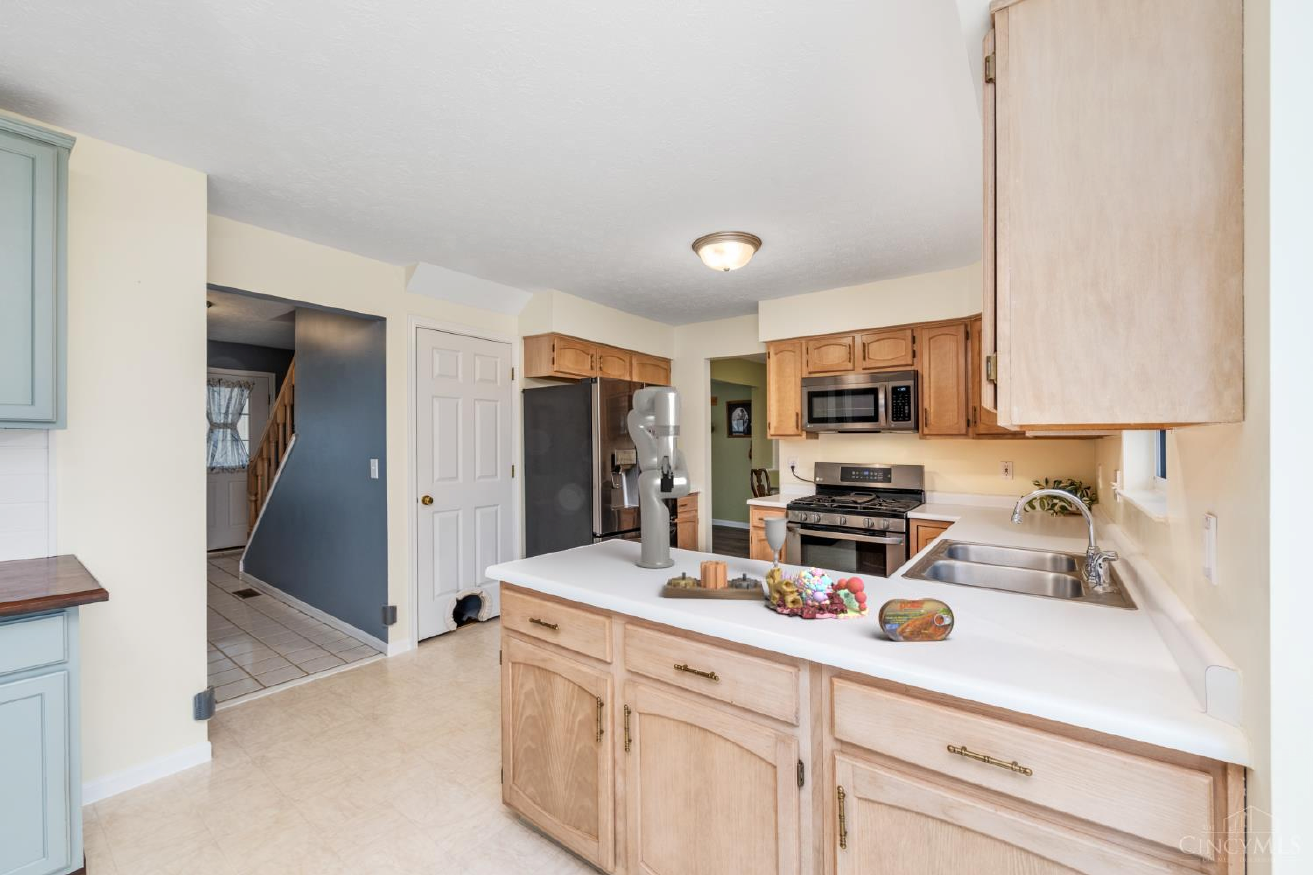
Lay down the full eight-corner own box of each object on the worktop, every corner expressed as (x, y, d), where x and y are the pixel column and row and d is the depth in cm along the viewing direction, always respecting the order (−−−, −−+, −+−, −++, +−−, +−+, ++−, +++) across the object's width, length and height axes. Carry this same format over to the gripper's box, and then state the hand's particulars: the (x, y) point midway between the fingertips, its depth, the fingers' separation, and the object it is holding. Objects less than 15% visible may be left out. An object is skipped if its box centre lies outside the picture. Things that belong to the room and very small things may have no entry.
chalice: (787, 577, 171) (786, 517, 172) (790, 582, 165) (789, 520, 165) (762, 576, 172) (761, 517, 172) (764, 582, 165) (763, 520, 165)
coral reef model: (780, 623, 130) (780, 582, 130) (752, 595, 153) (752, 561, 153) (885, 618, 132) (884, 579, 132) (842, 592, 156) (841, 558, 156)
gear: (701, 581, 159) (701, 560, 159) (727, 582, 158) (726, 560, 158) (700, 588, 152) (700, 565, 152) (727, 588, 151) (727, 566, 151)
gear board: (668, 586, 162) (668, 567, 162) (761, 588, 159) (761, 569, 159) (664, 597, 150) (664, 577, 150) (764, 600, 147) (764, 579, 147)
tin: (882, 642, 116) (882, 601, 116) (876, 637, 119) (876, 596, 119) (955, 641, 117) (955, 599, 117) (947, 635, 120) (946, 595, 120)
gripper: (657, 431, 176) (657, 486, 177) (651, 432, 159) (651, 494, 159) (681, 431, 175) (681, 486, 176) (678, 432, 158) (678, 494, 159)
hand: (667, 490), depth 168 cm, fingers open, 9 cm apart
